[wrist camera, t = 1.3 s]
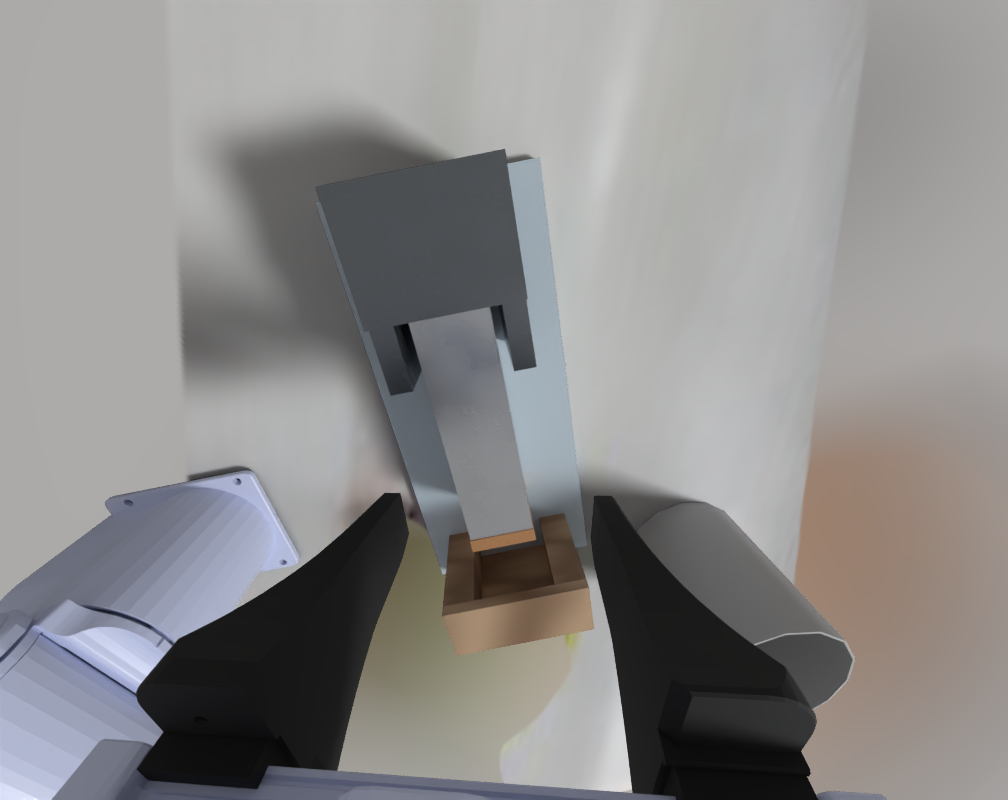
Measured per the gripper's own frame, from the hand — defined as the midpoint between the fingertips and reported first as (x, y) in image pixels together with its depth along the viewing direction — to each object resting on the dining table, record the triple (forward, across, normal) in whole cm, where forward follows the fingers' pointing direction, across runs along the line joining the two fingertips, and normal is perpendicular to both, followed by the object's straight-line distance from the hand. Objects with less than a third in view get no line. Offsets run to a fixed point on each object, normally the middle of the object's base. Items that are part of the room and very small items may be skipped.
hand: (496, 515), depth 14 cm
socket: (+10, 0, +11) cm, 15 cm away
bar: (+9, +2, -1) cm, 10 cm away
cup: (+12, -13, +14) cm, 22 cm away
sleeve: (+10, +3, -7) cm, 13 cm away
